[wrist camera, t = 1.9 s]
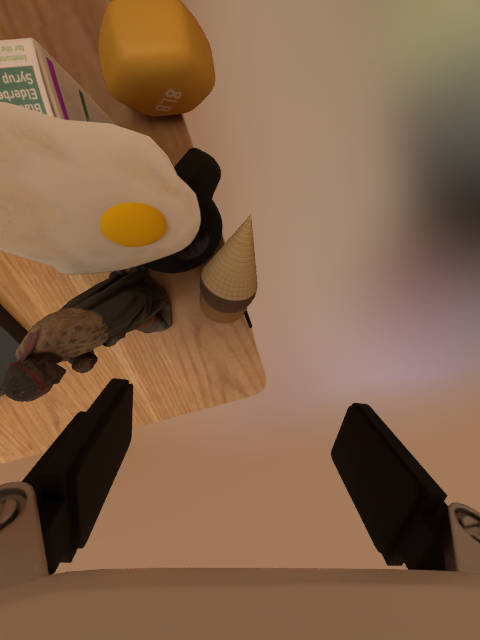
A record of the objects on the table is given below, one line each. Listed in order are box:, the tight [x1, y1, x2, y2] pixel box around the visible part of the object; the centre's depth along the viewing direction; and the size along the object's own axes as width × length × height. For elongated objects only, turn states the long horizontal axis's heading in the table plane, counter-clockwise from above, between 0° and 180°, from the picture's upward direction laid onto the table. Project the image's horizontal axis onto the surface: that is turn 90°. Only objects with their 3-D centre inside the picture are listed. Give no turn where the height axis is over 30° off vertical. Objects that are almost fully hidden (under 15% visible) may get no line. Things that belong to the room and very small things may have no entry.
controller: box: [139, 148, 222, 273], centre depth 23 cm, size 4×12×10 cm
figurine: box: [1, 266, 172, 402], centre depth 21 cm, size 8×9×18 cm
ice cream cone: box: [200, 215, 257, 328], centre depth 25 cm, size 7×6×15 cm
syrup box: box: [0, 38, 116, 125], centre depth 18 cm, size 6×6×14 cm
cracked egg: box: [0, 102, 201, 275], centre depth 15 cm, size 14×13×1 cm
